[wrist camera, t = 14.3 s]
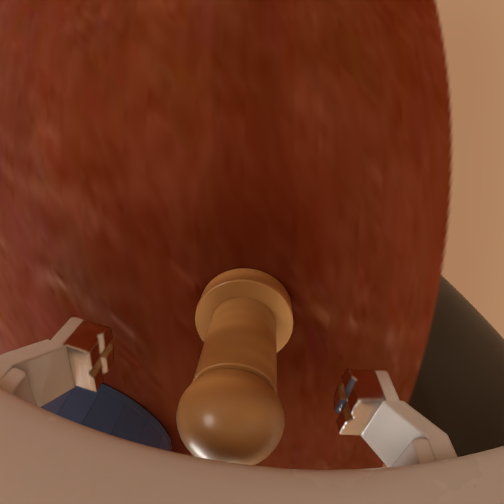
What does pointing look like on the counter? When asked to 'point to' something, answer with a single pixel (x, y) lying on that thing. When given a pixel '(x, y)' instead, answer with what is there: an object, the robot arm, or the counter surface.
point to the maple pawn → (237, 369)
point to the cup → (111, 415)
